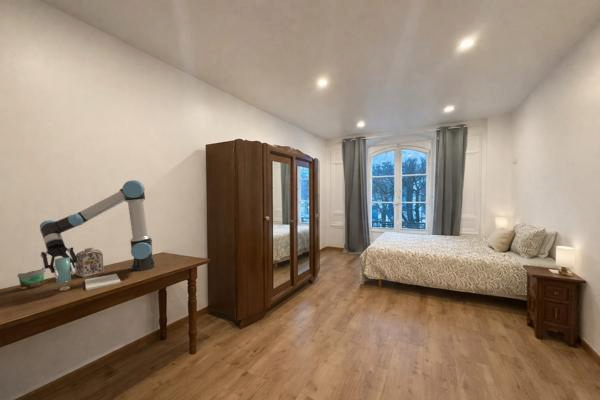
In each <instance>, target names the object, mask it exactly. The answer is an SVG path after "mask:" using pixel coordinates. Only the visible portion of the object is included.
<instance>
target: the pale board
mask: <svg viewBox="0 0 600 400" xmlns="http://www.w3.org/2000/svg"><path fill="white" fill-rule="evenodd" d="M121 282H122V281H121V279H120V277H119V276H118V274H117V273H113V274H112V273H111V274H106V275H102V276H97V277H93V278H92V277H91V278H86V279H84V283H85V284H84V285H85V290H86V291H89V290H90V291H91V290H96V289H100V288H104V287H110V286H113V285H117V284H121Z"/></svg>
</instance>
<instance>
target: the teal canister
mask: <svg viewBox="0 0 600 400" xmlns="http://www.w3.org/2000/svg"><path fill="white" fill-rule="evenodd" d="M70 258H71V256H69V257H60V258H59V257H58V258H55V259H54V266H56V269H57V272H58V275H59V276H58V278H56V277H55V281H56V284H58V285H59V284H65V283H68V282H71V281H72V273H71V269H70Z"/></svg>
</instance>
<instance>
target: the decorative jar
mask: <svg viewBox="0 0 600 400" xmlns="http://www.w3.org/2000/svg"><path fill="white" fill-rule="evenodd" d="M75 255H76V257H77V262H76V263H74V264H75V268H74V270H75V275H76V276H79V277H81V278H87V277H90V276H94V275H99V274H103V273H104V254H103V251H101V250H100V249H94V247H87V248H85V249H84V250H82V251H79V252H77V253H76V254H75Z"/></svg>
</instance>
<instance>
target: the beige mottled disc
mask: <svg viewBox="0 0 600 400" xmlns="http://www.w3.org/2000/svg"><path fill="white" fill-rule="evenodd" d="M70 289H71V286H70V285H68V286H67V285H66V286H63V287H60V288H59V291H60V292H63V291H68V290H70Z"/></svg>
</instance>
